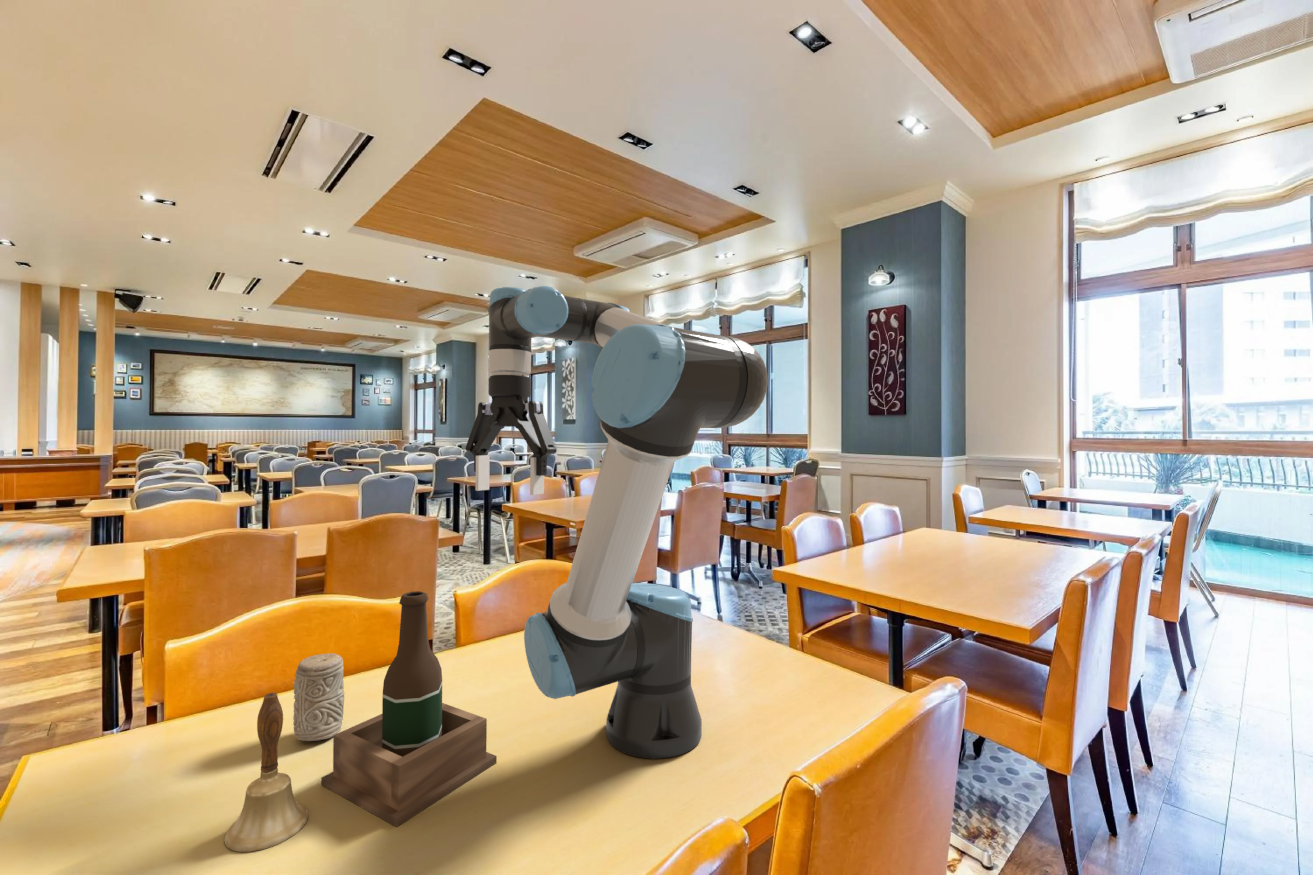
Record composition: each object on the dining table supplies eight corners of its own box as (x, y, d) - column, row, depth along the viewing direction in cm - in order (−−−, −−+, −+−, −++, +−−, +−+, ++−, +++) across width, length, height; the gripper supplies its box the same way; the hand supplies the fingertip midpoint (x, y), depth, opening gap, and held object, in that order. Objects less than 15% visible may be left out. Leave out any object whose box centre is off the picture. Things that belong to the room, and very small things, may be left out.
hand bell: (322, 805, 73) (323, 679, 73) (282, 852, 65) (283, 710, 65) (255, 806, 73) (256, 679, 73) (206, 853, 65) (207, 710, 65)
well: (496, 762, 83) (496, 717, 83) (396, 826, 69) (397, 772, 69) (423, 732, 91) (423, 691, 91) (321, 784, 77) (321, 736, 77)
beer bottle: (421, 786, 76) (422, 603, 76) (368, 779, 77) (370, 599, 77) (453, 754, 83) (454, 588, 83) (404, 748, 85) (406, 584, 85)
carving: (353, 724, 93) (354, 650, 93) (322, 749, 86) (323, 669, 86) (316, 722, 94) (317, 649, 94) (282, 747, 86) (283, 667, 86)
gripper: (577, 374, 102) (575, 494, 102) (477, 380, 115) (476, 487, 115) (548, 370, 96) (547, 498, 96) (446, 376, 108) (445, 489, 108)
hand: (508, 492), depth 105 cm, fingers open, 13 cm apart
